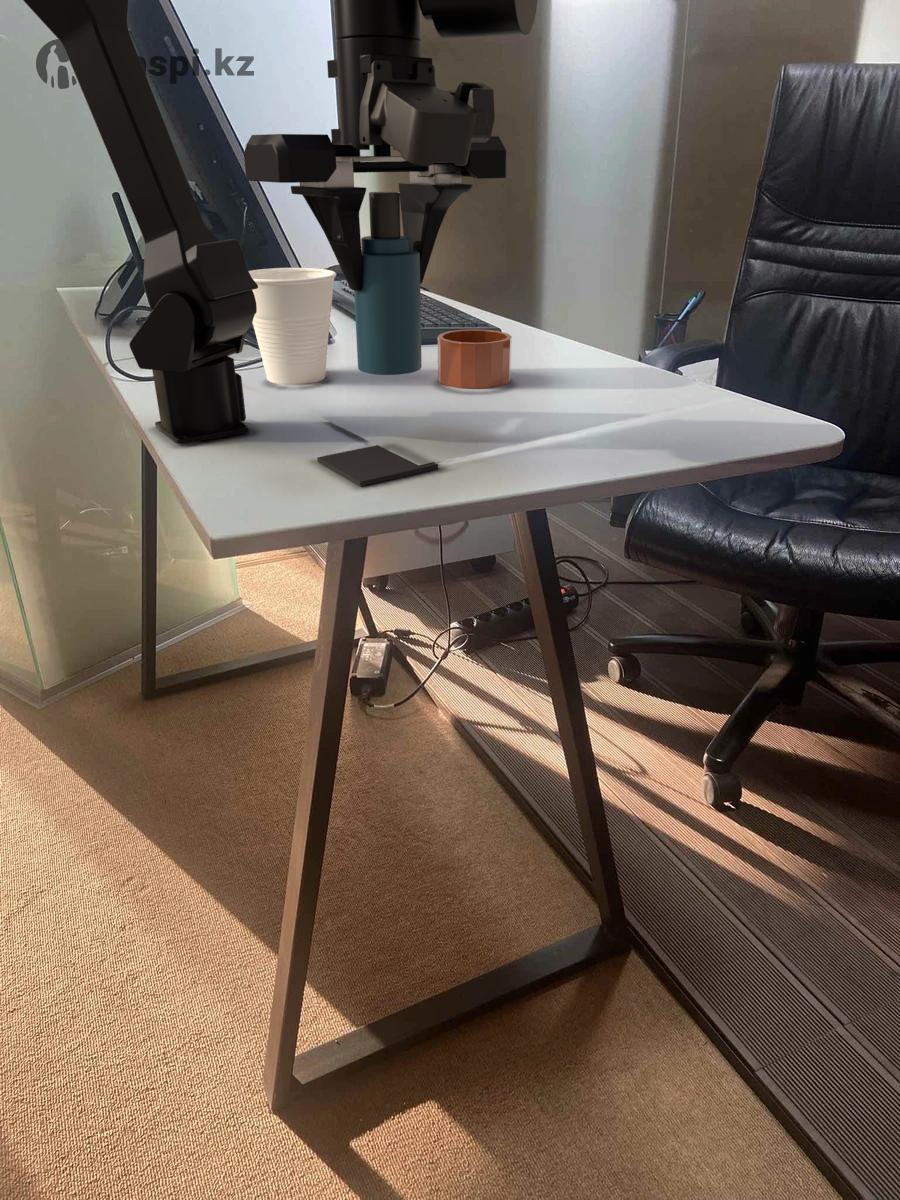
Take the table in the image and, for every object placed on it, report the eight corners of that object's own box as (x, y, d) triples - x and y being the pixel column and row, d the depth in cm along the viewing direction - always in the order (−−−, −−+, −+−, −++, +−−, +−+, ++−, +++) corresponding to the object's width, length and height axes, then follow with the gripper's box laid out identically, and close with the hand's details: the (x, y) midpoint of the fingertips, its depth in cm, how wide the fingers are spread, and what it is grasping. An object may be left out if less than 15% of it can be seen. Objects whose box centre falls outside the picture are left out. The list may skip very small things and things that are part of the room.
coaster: (360, 486, 64) (360, 481, 63) (317, 461, 69) (316, 457, 68) (438, 468, 67) (438, 464, 67) (391, 446, 72) (391, 442, 72)
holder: (466, 397, 87) (466, 346, 84) (424, 382, 92) (424, 334, 90) (524, 386, 90) (526, 337, 88) (481, 372, 96) (482, 326, 94)
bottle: (379, 378, 64) (372, 194, 58) (346, 366, 68) (336, 192, 62) (434, 369, 67) (432, 192, 61) (399, 358, 70) (394, 190, 65)
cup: (295, 398, 86) (285, 282, 81) (230, 383, 92) (217, 274, 86) (361, 379, 93) (356, 272, 88) (297, 367, 99) (289, 265, 93)
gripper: (310, 17, 47) (329, 314, 54) (563, 40, 56) (550, 289, 64) (228, 36, 55) (254, 293, 62) (462, 53, 64) (461, 274, 72)
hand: (386, 287), depth 65 cm, fingers closed on bottle, 5 cm apart
